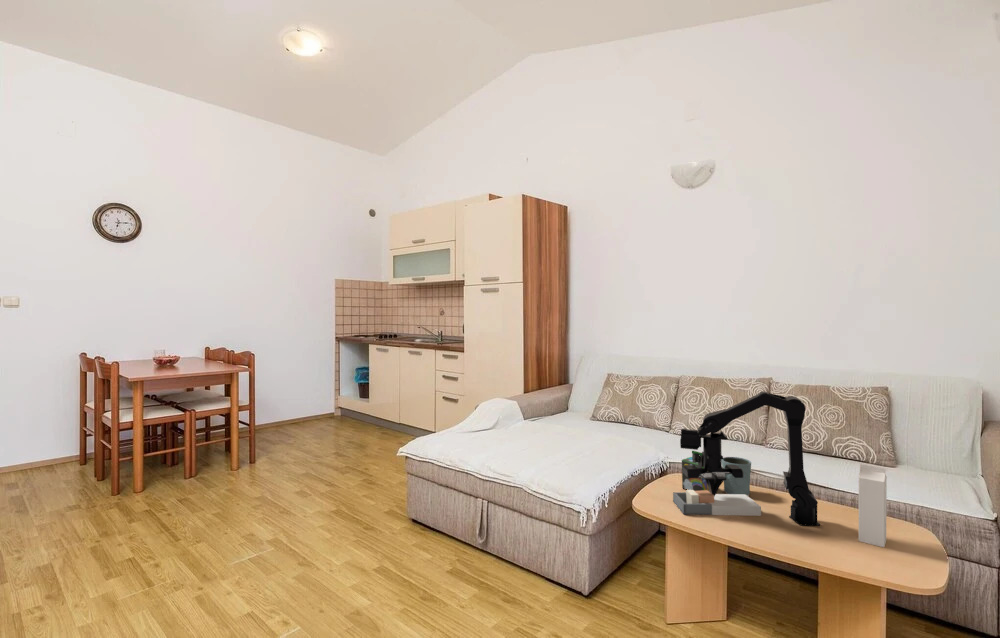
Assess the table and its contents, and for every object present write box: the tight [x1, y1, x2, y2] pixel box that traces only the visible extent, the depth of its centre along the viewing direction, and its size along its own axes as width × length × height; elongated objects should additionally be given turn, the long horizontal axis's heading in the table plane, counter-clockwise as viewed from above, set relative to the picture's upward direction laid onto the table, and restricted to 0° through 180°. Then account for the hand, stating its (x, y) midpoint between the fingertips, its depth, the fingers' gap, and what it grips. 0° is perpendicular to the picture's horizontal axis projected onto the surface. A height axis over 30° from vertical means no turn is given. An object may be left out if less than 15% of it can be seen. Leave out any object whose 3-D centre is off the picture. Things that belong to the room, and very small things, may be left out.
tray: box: [672, 491, 713, 516], centre depth 167 cm, size 9×11×4 cm
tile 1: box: [685, 490, 699, 504], centre depth 167 cm, size 5×5×2 cm
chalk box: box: [681, 450, 710, 492], centre depth 185 cm, size 9×9×15 cm
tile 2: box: [695, 490, 714, 503], centre depth 167 cm, size 5×5×2 cm
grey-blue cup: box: [722, 456, 752, 497], centre depth 182 cm, size 10×10×12 cm
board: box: [702, 493, 762, 517], centre depth 167 cm, size 16×11×3 cm
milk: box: [858, 464, 888, 548], centre depth 143 cm, size 6×6×22 cm
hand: (712, 496), depth 167 cm, fingers closed
